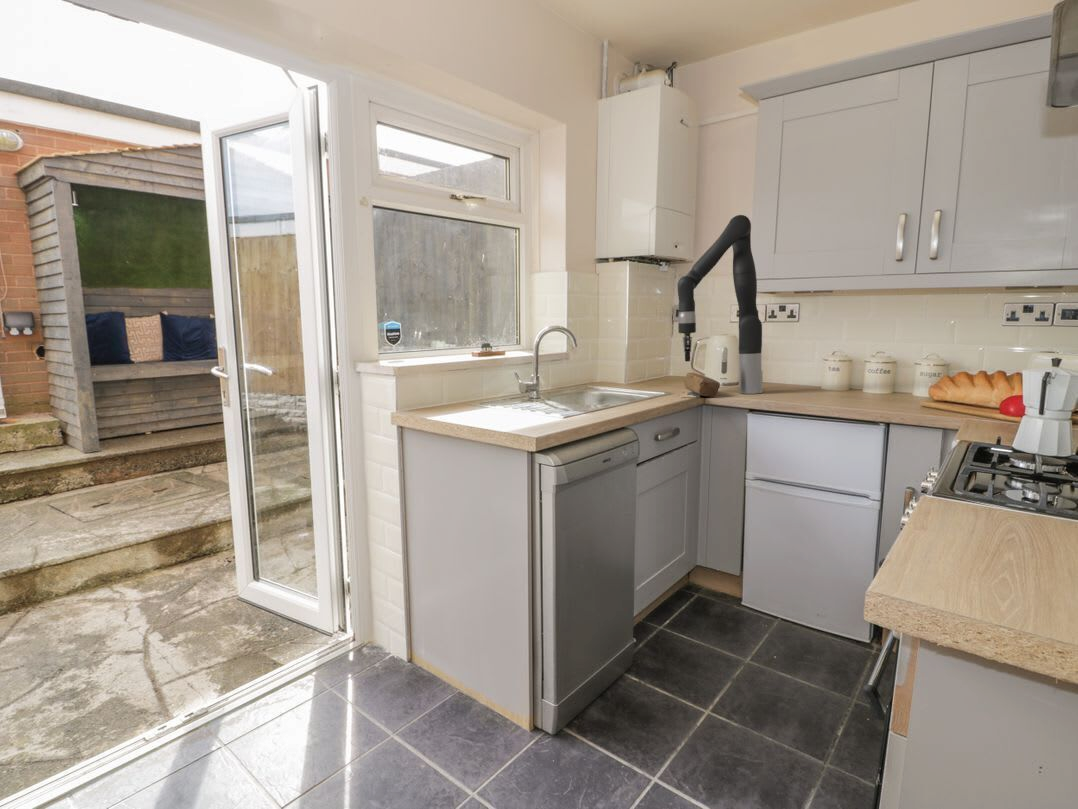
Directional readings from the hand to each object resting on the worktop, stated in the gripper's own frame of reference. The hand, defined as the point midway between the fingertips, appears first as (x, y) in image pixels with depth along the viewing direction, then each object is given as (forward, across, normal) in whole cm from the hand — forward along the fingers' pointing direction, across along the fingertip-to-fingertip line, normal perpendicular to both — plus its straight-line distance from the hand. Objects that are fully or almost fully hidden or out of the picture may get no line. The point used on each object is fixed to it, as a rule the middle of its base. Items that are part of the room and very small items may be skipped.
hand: (687, 361), depth 261 cm
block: (+9, +1, -3) cm, 10 cm away
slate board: (+14, -10, 0) cm, 18 cm away
